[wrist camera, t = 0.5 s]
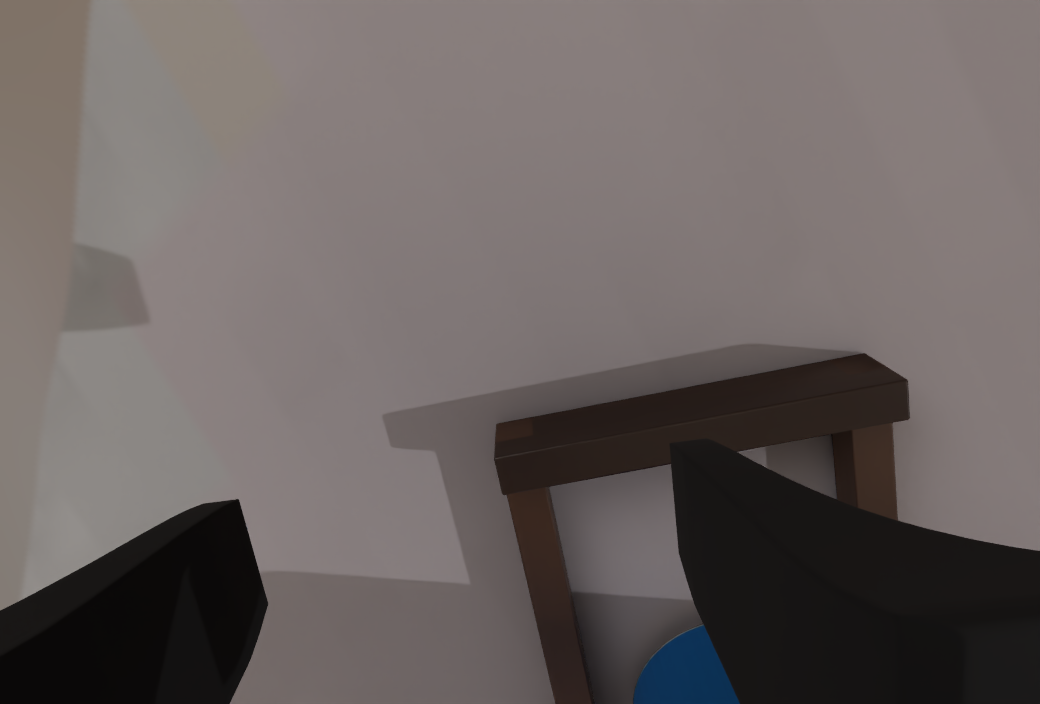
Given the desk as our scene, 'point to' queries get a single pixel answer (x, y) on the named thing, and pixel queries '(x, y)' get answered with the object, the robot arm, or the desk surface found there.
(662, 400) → the can track
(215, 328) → the desk surface
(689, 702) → the beverage can
